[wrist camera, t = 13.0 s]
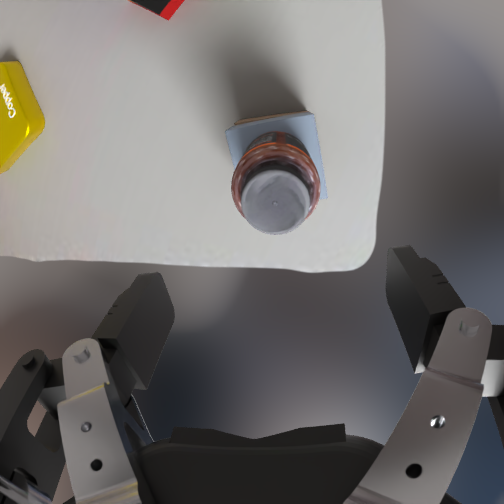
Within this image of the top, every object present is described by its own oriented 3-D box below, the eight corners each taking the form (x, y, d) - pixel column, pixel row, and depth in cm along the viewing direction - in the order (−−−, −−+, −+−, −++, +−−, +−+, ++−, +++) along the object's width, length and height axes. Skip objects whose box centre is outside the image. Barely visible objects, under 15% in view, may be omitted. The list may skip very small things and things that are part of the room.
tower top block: (232, 126, 31) (225, 131, 26) (308, 111, 29) (313, 114, 25) (249, 195, 34) (245, 212, 30) (321, 183, 33) (327, 198, 29)
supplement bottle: (232, 172, 28) (203, 217, 18) (266, 117, 26) (255, 130, 16) (286, 205, 29) (288, 266, 19) (322, 153, 27) (347, 189, 17)
